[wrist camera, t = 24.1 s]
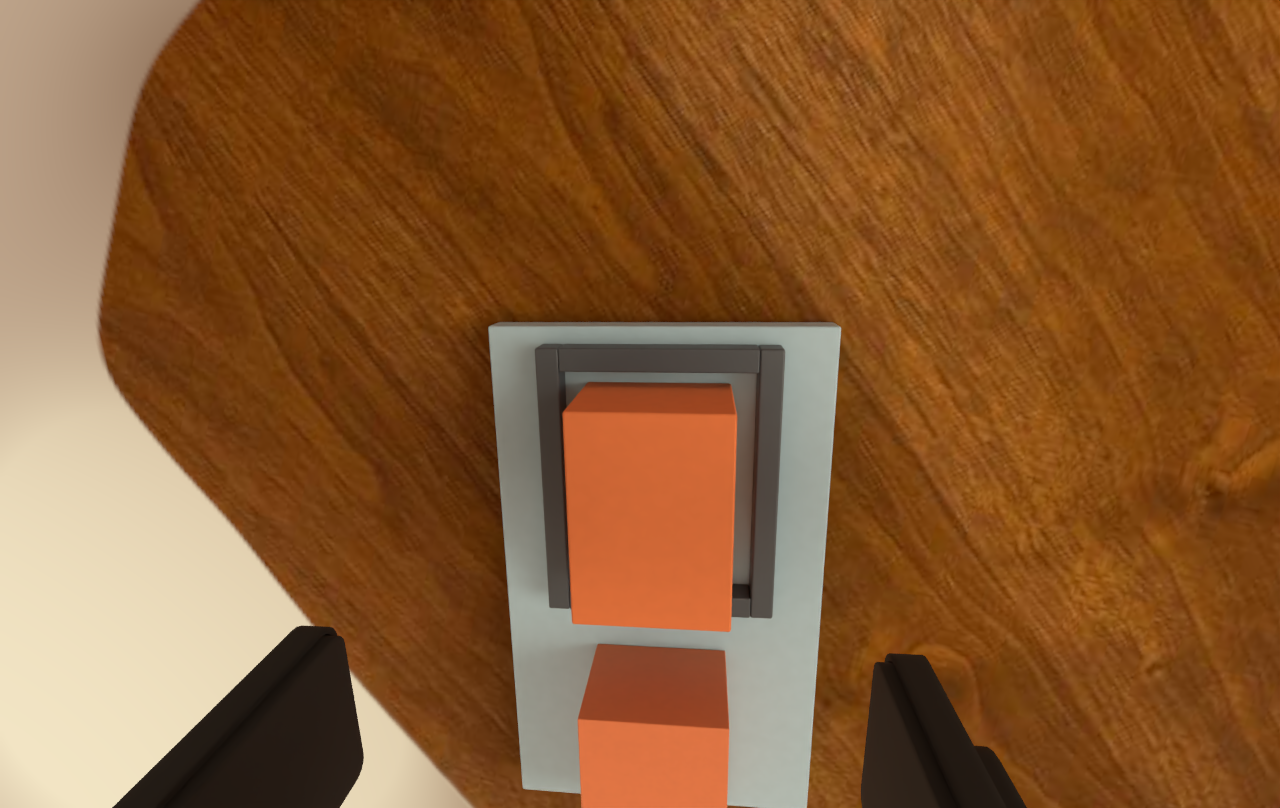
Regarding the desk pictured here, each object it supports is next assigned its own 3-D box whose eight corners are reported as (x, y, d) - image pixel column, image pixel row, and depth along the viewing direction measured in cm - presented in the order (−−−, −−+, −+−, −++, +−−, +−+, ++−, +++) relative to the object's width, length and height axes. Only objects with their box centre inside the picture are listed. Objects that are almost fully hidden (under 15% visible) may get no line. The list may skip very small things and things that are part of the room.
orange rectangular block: (593, 561, 23) (571, 624, 19) (587, 381, 21) (561, 411, 18) (726, 566, 23) (731, 633, 19) (731, 382, 21) (737, 414, 17)
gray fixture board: (529, 766, 27) (491, 883, 22) (498, 321, 22) (439, 344, 17) (802, 787, 26) (825, 915, 21) (834, 321, 21) (875, 346, 16)
